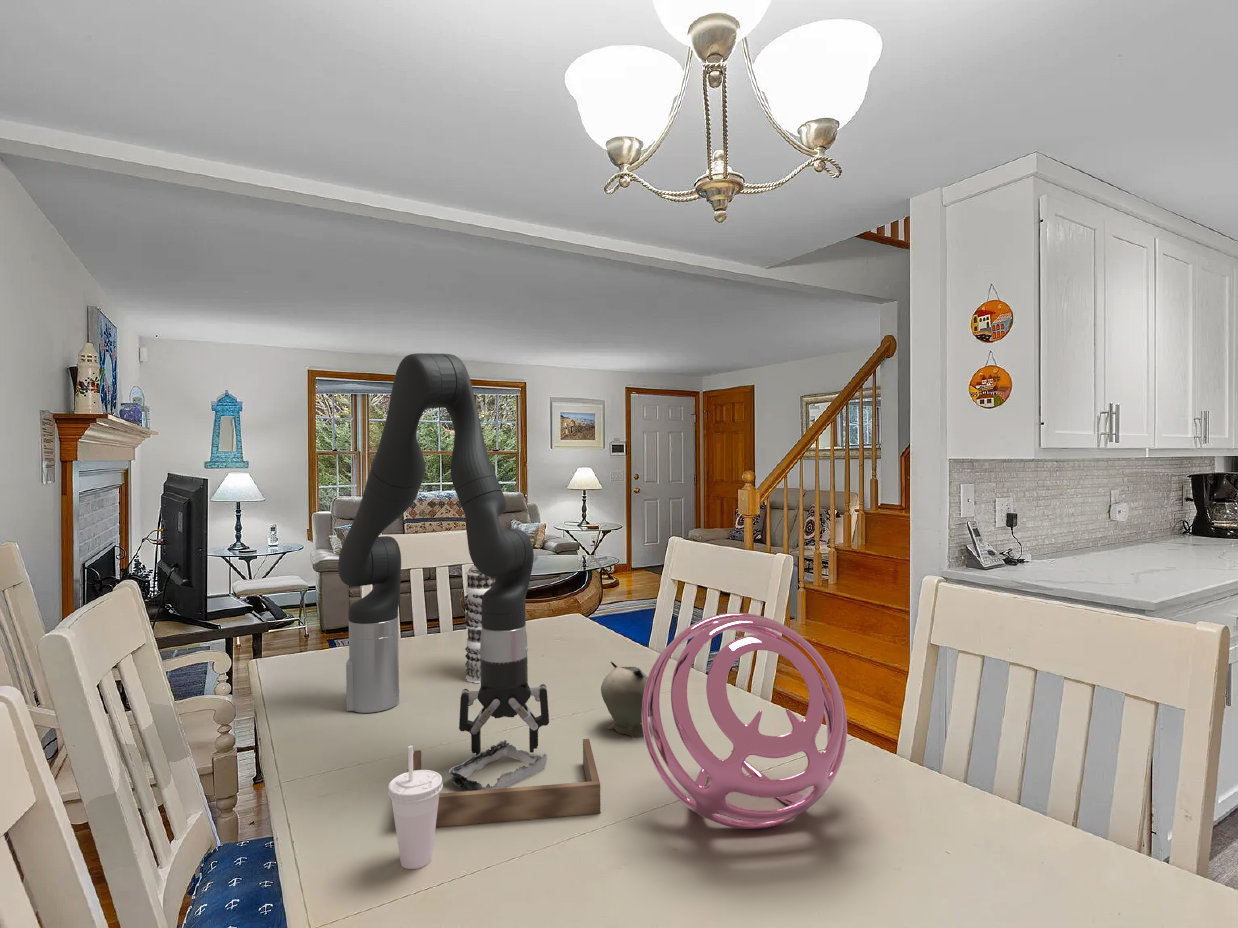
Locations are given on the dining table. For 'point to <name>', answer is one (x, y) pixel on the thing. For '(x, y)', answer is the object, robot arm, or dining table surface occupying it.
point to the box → (520, 799)
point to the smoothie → (415, 813)
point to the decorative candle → (474, 620)
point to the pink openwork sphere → (745, 726)
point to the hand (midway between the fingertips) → (504, 752)
